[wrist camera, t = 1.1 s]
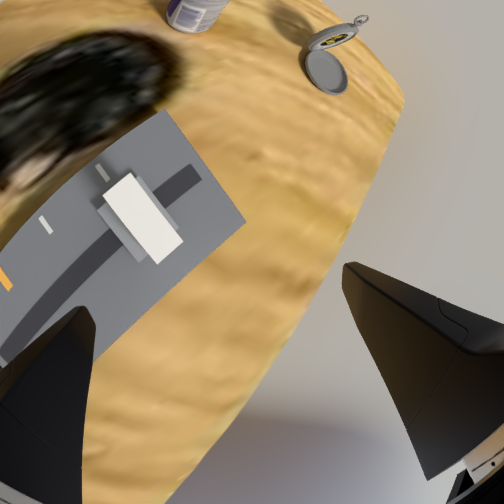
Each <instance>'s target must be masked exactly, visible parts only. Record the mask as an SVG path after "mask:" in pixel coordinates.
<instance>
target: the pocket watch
mask: <svg viewBox="0 0 504 504" xmlns="http://www.w3.org/2000/svg"><path fill="white" fill-rule="evenodd" d="M360 17H367V19H366V20H365V21H362V20H359V21H356V20H357V19H358V18H360ZM368 20H369V17H368V16H367V15H361V16H358V17H357V18H355V20H354V24H352V23H344V24H338V25H335V26H332V27H329V28H326V29H324V30H322V31H320V32H318V33H316V34H314V35H313V36H312V37H310V38H309V39H308V40H307V42H306V43H307V47H308V49H309V50H311V52H310V53H309V54H308V55H307V56H306V60H305V66H306V71H307V73H308V75H309V77H310V79H311V81H312V82H313V83H314V84H315V85H316V86H317V87H318V88H319V89H320V90H322V91H323V92H325V93H327V94H330V95H340V94H342V93H343V92H345V91H346V89H347V87H348V77H347V73H346V71H345V69H344V67H343V65H342V64H341V63H340V61H339V60H338V59H337V58H336V57H335V56H334V55H332V54H331V53H329V52H327V51H324V49H328V48H331V47H334V46H337V45H339V44H342V43H344V42H346V41H348V40H350V39H351V38H353V37H354V36H355V35H356V34H357V33H358V31H359V30H358V28H357V26H361V25H362V24H363V23H366V22H367V21H368Z"/></svg>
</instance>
